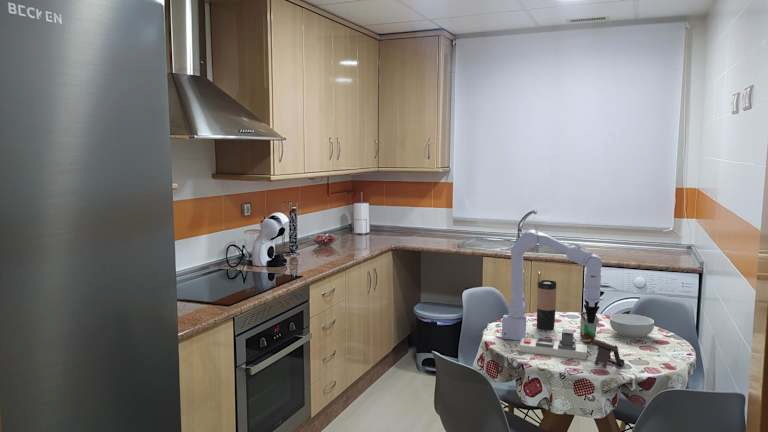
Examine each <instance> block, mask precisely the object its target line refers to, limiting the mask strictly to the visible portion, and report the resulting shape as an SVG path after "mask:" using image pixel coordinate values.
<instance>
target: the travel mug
mask: <svg viewBox="0 0 768 432" xmlns="http://www.w3.org/2000/svg"><path fill="white" fill-rule="evenodd" d="M536 300H537V301H536V328H537V329H539V330H542V331H553V330H554V329H555V321H556V320H555V319H556V308H557V307H556V305H557V303H556V302H557V282H556V281H554V280H548V279H542V280H540V281H538V283H537V299H536Z"/></svg>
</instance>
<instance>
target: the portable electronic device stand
mask: <svg viewBox="0 0 768 432" xmlns="http://www.w3.org/2000/svg"><path fill="white" fill-rule="evenodd" d="M592 345H594V346H596V347H597V354H596V357H595V360H594V365H596V366H599V364H600V363H601V364H602V366H601V367H602V368H603V369H606V368H607V365H608V364H609V363H611V364H615V365H618V366H619V367H624V365H625V359H622V358H621V357H620V353H619V350H618V346H617V345H616V344H615V345H614V344H612V343H609V342H605V341H602V340H599V339H597V338H595V339H594V340H593V343H592ZM612 352H613V356H614V357H612V355H611V353H612Z"/></svg>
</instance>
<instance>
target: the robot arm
mask: <svg viewBox="0 0 768 432" xmlns="http://www.w3.org/2000/svg"><path fill="white" fill-rule="evenodd" d="M536 246H538V247H545V246H546V247H549V248H551V249H554V250H556V251H559V252H560V253H563V254H565V255H566V258H567V259H568V260H570V261H572V262H574V263H576V264H578V265H581V266H582V267H583V266H585V267H586V272H585V274H584V296H583V300H584V304H583V307H584V310H585V312H586V314H587V321H588V323H592V324H594V321H595V316H596V315H597V313H598V311H599V309H600V306H599V303H600V301H604V297H601V285H602V283H601V281H602V274H601V273H602V268H603V267H602V266H603V263H602V258H601V257H600V256H599V255H598V254H597V253H593V252H592V251H587V250H586V249H583V248H581V247H582V246H581V245H579V244H578V245H575V244H573V245H569V246H568V244H565V243H563V242H561V241H559V240H558V239H556V238H554V237H551V236H550V235H548V234H546V233H544V232H541V231H537V230H535V229H532V228H531V229H528V230H526V231H525V232H523V233H522V234H521V235H520V236H519V237H518V239H517V240H516V241H515V243H514V245H513V246H512V247H511V248H510V249H511V250H510V263H511V264H510V267H511V269H510V270H511V271H510V272H511V282H510V283H511V288H510V289H511V294H510V303H509V306H508V307H507V308H508V309H507V310H508V314H503V316H502V322H501V323H502V324H501V339H504V340H513V341H520V342H521V340H522V338H528V336H529V335H528V334H527V314H526V312H525V311H526V309H527V308H528V307H527V304H528V303H527V301H526V299H525V293H524V288H525V287H524V254H525V253H526V252H527V251H528V250H531V249H533V248H536Z"/></svg>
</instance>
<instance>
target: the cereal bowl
mask: <svg viewBox="0 0 768 432" xmlns="http://www.w3.org/2000/svg"><path fill="white" fill-rule="evenodd" d="M609 325H610V327H611V329H612V330H613V331H614V332H615V333H616V334H619V335H621V336H622V337H624V338H628V339H641V338H642V337H645V336H648V335H649V334H651V333H652V332H653V330H654V328H655V320H654V319H652V318H651V317H648V316H644V315H639V314H631V313H619V314H616V313H615V314H613V315H611V316H609Z"/></svg>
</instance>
